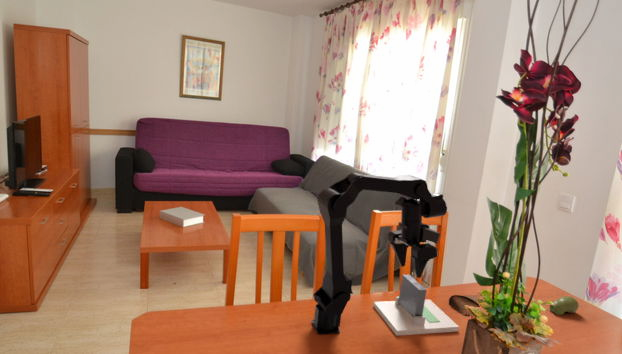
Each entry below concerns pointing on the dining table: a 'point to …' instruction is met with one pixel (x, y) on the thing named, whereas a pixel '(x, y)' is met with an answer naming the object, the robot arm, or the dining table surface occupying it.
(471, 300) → the sunglasses case
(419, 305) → the dark grey square panel
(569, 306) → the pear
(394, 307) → the pivot board
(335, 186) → the robot arm
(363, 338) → the dining table surface
